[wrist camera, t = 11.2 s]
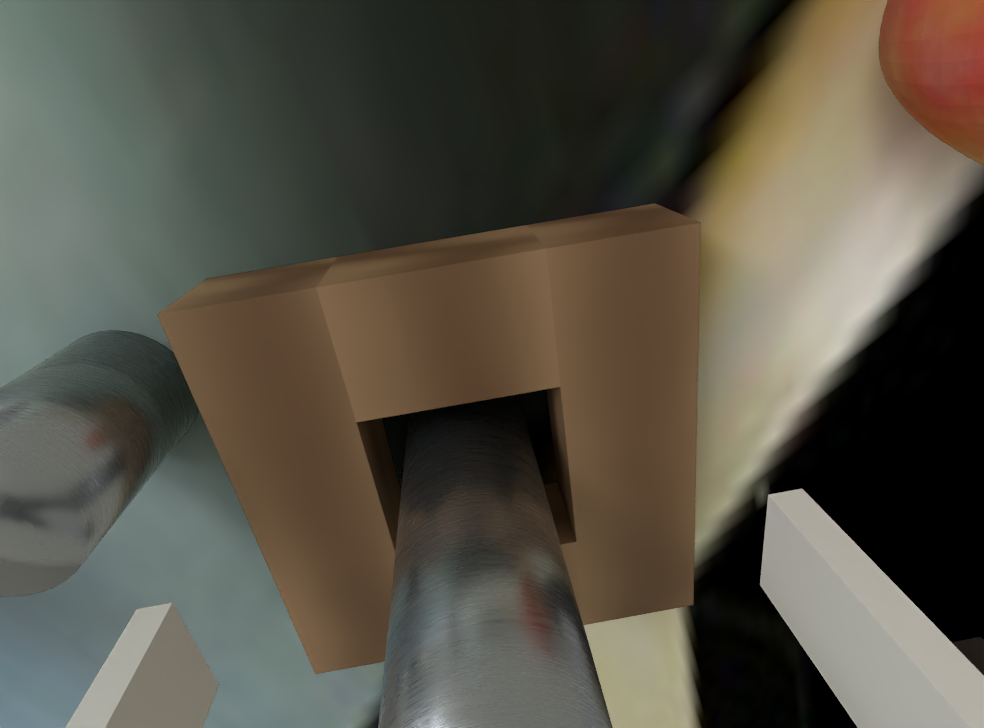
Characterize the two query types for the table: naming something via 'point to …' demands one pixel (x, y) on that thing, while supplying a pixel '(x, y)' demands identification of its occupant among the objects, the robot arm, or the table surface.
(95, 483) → the short pin
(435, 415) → the tall pin
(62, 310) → the table surface
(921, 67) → the apple
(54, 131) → the table surface
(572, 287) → the socket plate
